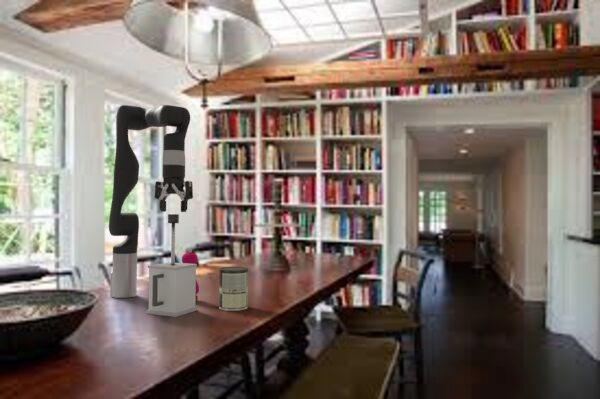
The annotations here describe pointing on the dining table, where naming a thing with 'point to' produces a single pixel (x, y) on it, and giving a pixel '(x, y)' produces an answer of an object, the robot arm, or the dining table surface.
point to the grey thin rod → (173, 234)
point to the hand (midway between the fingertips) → (173, 211)
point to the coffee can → (233, 288)
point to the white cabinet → (172, 289)
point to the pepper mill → (191, 259)
